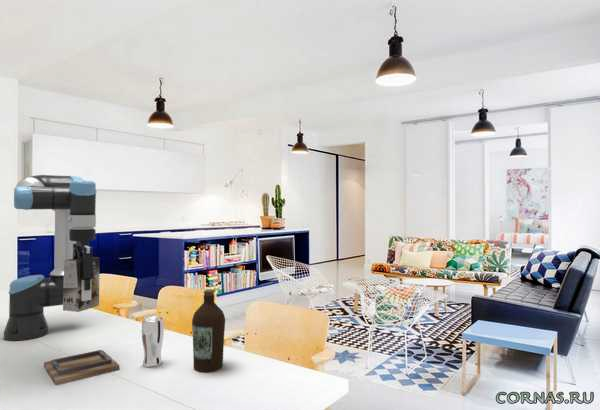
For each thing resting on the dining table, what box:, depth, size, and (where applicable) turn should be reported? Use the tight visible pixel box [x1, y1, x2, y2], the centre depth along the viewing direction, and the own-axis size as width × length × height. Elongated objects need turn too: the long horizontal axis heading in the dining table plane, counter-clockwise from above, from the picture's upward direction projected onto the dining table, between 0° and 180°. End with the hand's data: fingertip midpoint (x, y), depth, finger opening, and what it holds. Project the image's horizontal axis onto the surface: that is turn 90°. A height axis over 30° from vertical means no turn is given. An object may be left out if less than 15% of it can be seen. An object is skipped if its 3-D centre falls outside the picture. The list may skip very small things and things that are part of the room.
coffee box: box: [62, 256, 101, 313], centre depth 135 cm, size 9×6×16 cm
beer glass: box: [141, 316, 165, 368], centre depth 140 cm, size 7×7×15 cm
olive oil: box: [191, 289, 226, 373], centre depth 138 cm, size 11×11×25 cm
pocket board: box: [43, 349, 120, 386], centre depth 135 cm, size 18×18×3 cm
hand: (82, 297), depth 135 cm, fingers closed on coffee box, 10 cm apart
